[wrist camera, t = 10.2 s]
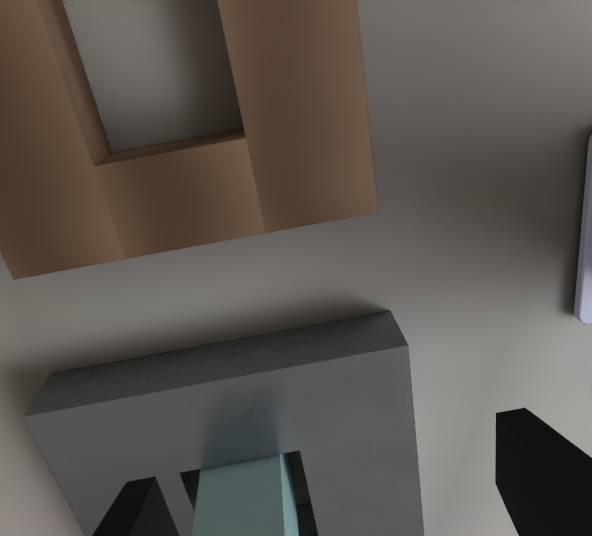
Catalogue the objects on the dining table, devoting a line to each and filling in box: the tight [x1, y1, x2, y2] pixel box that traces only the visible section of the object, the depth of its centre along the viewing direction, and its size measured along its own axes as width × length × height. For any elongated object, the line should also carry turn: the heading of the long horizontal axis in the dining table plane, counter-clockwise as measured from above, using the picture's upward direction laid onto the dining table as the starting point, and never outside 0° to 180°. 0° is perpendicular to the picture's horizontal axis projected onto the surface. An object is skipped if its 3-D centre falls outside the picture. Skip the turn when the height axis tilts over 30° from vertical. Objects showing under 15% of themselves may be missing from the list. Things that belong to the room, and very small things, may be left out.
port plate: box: [23, 311, 424, 536], centre depth 21 cm, size 14×14×2 cm
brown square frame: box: [0, 0, 378, 280], centre depth 14 cm, size 12×12×2 cm
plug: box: [192, 453, 299, 536], centre depth 19 cm, size 3×4×7 cm
